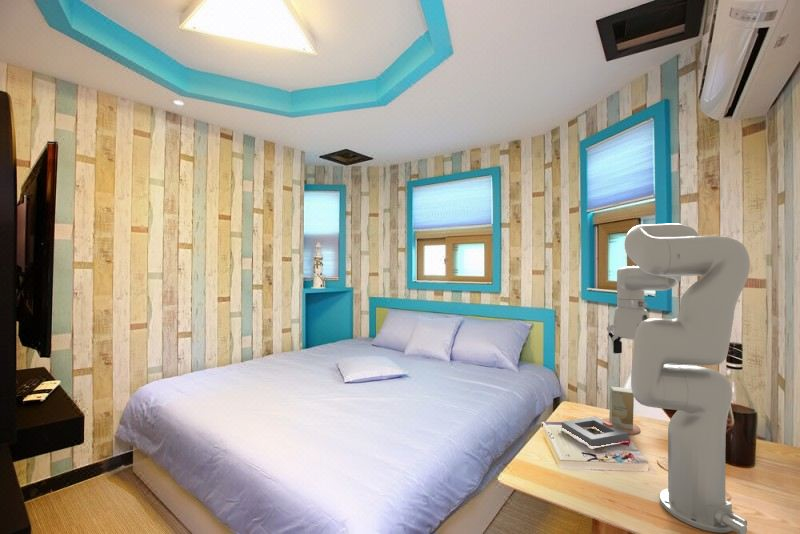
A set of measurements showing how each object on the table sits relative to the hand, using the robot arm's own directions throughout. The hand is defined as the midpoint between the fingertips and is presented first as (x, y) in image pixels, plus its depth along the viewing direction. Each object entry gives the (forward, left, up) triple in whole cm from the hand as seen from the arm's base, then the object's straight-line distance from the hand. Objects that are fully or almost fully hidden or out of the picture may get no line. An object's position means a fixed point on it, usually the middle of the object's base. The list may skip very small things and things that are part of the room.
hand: (630, 356), depth 114 cm
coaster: (+2, +2, -24) cm, 24 cm away
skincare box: (+2, +2, -24) cm, 24 cm away
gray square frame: (-1, +16, -24) cm, 29 cm away
